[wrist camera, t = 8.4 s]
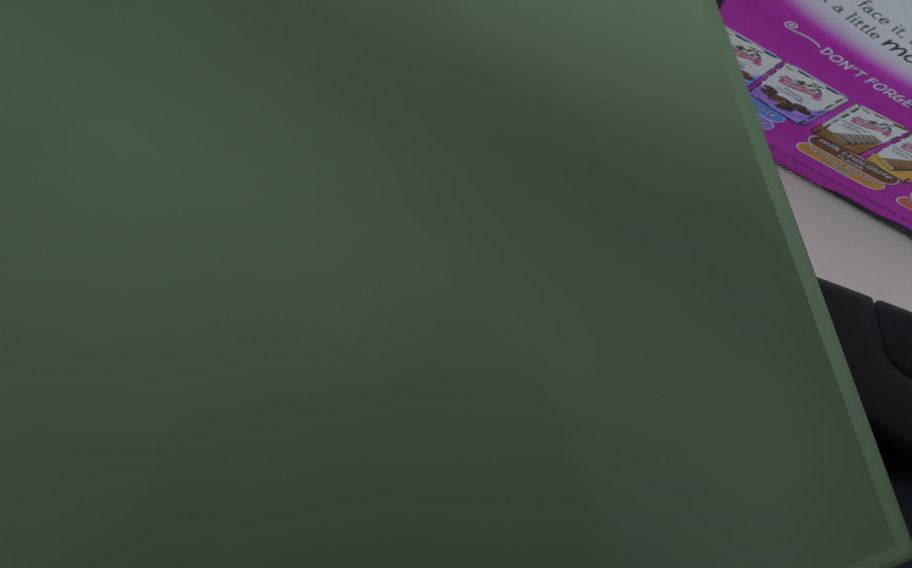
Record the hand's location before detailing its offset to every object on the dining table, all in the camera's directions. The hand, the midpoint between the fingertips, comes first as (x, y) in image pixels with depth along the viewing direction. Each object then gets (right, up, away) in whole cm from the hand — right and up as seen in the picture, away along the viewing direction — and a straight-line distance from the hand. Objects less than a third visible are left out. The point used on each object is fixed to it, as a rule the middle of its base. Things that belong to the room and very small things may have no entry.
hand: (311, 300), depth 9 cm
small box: (-1, -1, +4) cm, 5 cm away
